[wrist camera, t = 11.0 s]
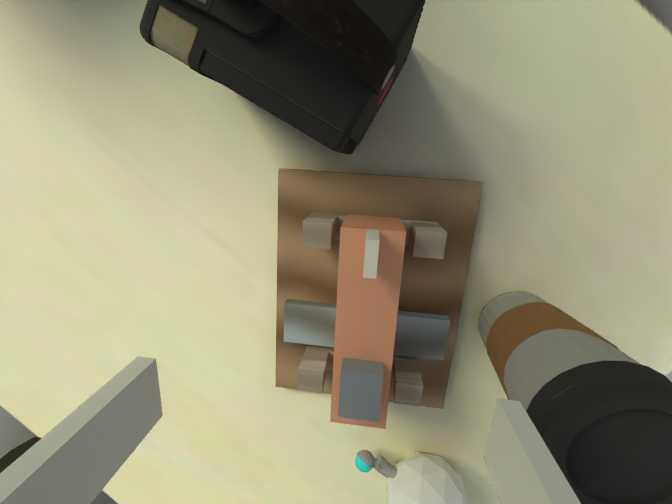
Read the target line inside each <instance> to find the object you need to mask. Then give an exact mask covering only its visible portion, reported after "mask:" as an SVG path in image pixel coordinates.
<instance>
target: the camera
mask: <svg viewBox="0 0 672 504" xmlns="http://www.w3.org/2000/svg"><path fill="white" fill-rule="evenodd" d="M424 4H425V0H148V1H147V4H146V7H145V10H144V14H143V17H142V20H141V23H140V32H141V35H142V37H143V38H144V39H145V41H146V42H147V43H149V44H151V45H153V46H155V47H157V48H158V49H160V50H162V51H164V52H166V53H168V54H169V55H171V56H173V57H174V58H176V59H178V60H179V61H181V62H183V63H184V64H186V65H188V66H189V67H190V68H191V69H193V70H194V71H196V72H198V73H199V74H201V75H203V76H206V77H208V78H210V79H212V80H214V81H216V82H218V83H221V84H223V85H224V86H226V87H228V88H229V89H231V90H233V91H234V92H236V93H238V94H239V95H241V96H243V97H244V98H246V99H248V100H250V101H251V102H253V103H255V104H256V105H258V106H260V107H261V108H263V109H265V110H266V111H268V112H270V113H271V114H273V115H275V116H276V117H278V118H280V119H281V120H283V121H285V122H286V123H288V124H290V125H291V126H293V127H295V128H296V129H298V130H300V131H301V132H303V133H305V134H306V135H308V136H310V137H312V138H313V139H315V140H317V141H318V142H320V143H322V144H323V145H325V146H327V147H328V148H330V149H332V150H333V151H337V152H341V153H345V154H352V153H353V151H354V150H355V148H356V146H357V144H358V145H359V144H360V142H361V140H362V139H363V137H364V135H365V133H366V131H367V129H368V128H369V126H370V124H371V122H372V121H373V119H374V117H375V115H376V113H377V112H378V110H379V108H380V106H381V104H382V103H383V101H384V99H385V97H386V96H387V94H388V92H389V90H390V88H391V87H392V85H393V83H394V81H395V79H396V78H397V76H398V74H399V72H400V71H401V69H402V67H403V65H404V63H405V62H406V60H407V56H408V53H409V51H410V49H411V47H412V43H413V39H414V36H415V33H416V29H417V26H418V23H419V19H420V17H421V12H422V11H423V6H424Z"/></svg>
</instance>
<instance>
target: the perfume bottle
mask: <svg viewBox="0 0 672 504" xmlns="http://www.w3.org/2000/svg"><path fill="white" fill-rule="evenodd" d="M355 463H356V467H357V468H358V469H359V470H360V471H361V472H368V471H370V470H371V469H372V468H373V467H374V468H375V469H376V470H377V471H378V472H379V473H381V474H383V475H384V476H385V477H389V479H388V485H387V490H386V491H387V504H470V503H469V500H468V496H467V493H466V490H465V486H464V483H463V480H462V478H461V477H460V476H459V475H458V474H457V473H456V472H455V471H454V470H453V469H452V468H451V467H450V466H449V465H448V464H447V463H446V462H445V461H444V460H443V459H442V458H441V457H440V456H435V455H429V454H424V453H418V452H415V453H413V454H411V455H410V456H408V457H407V458H405V459H404V460H402V461H400V462H399V463H397V464H396V465H395V466H391V464H390V463H388V462H387V461H386V460H385V459H384V457H383V456H382V455H381V454H380V453H379V455H378V457H377V459H375V458H374V456H373V455H372V453H371V452H369V451H367V450H361V451H359V452H358V453H357V456H356V459H355Z"/></svg>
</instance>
